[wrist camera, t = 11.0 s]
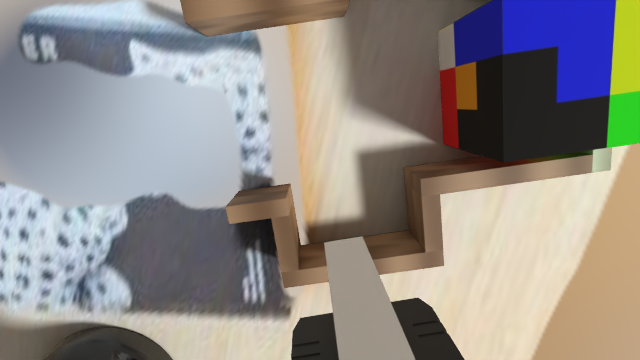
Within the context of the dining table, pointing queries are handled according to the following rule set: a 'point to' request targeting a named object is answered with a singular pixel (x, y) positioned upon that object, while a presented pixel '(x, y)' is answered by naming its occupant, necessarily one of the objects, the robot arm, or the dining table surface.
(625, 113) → the puzzle toy
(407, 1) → the dining table surface
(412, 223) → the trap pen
